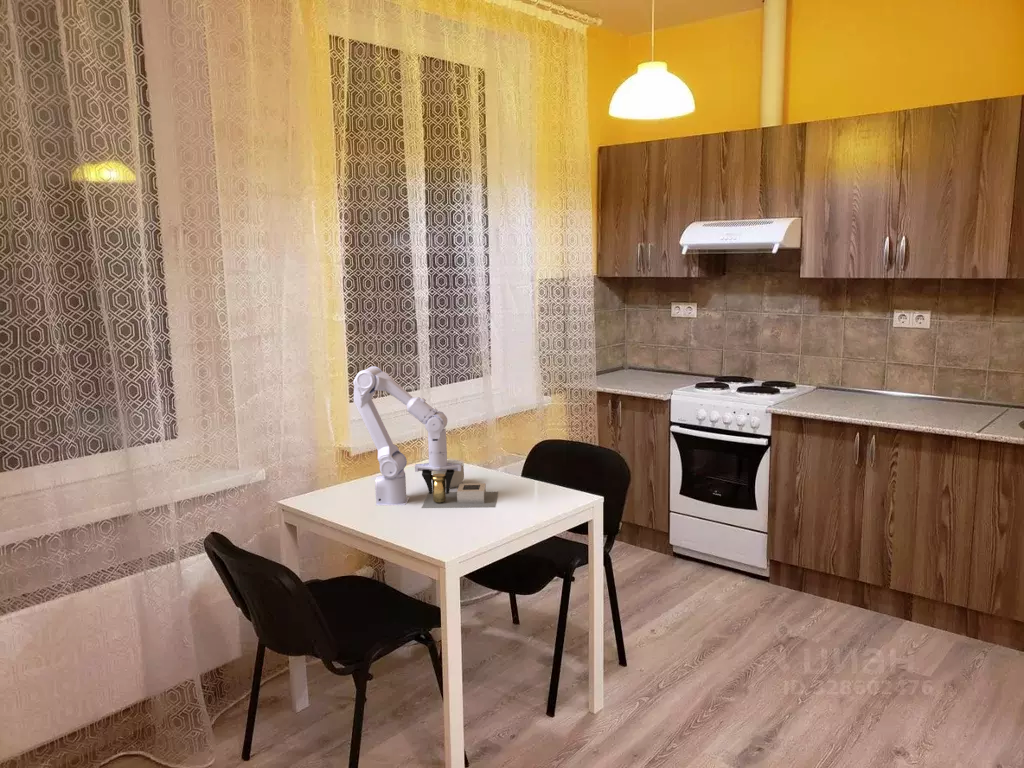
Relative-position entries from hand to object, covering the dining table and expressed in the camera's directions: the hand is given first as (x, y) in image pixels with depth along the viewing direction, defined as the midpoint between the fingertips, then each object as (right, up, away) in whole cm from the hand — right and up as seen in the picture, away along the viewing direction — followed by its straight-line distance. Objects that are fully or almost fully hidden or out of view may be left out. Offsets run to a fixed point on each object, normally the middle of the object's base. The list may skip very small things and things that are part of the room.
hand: (439, 492), depth 241 cm
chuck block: (+10, -2, +3) cm, 11 cm away
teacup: (0, -1, +20) cm, 20 cm away
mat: (+7, -3, +3) cm, 8 cm away
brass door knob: (0, -2, 0) cm, 2 cm away
